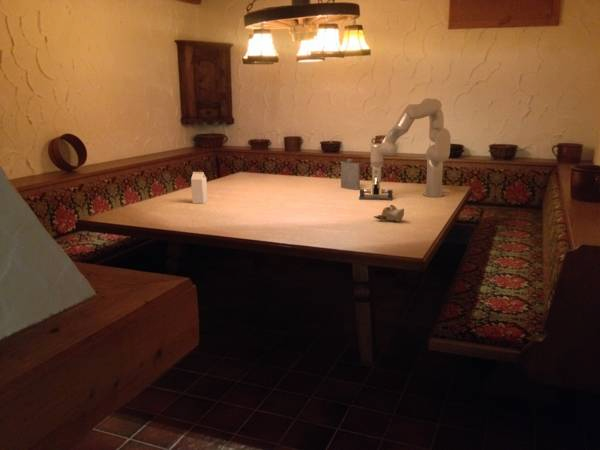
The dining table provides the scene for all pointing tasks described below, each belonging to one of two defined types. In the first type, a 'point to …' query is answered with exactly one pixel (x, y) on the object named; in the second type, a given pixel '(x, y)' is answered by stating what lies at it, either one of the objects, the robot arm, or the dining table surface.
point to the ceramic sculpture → (391, 214)
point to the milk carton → (199, 187)
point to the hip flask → (350, 175)
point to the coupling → (373, 187)
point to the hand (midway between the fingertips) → (376, 193)
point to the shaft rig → (375, 197)
